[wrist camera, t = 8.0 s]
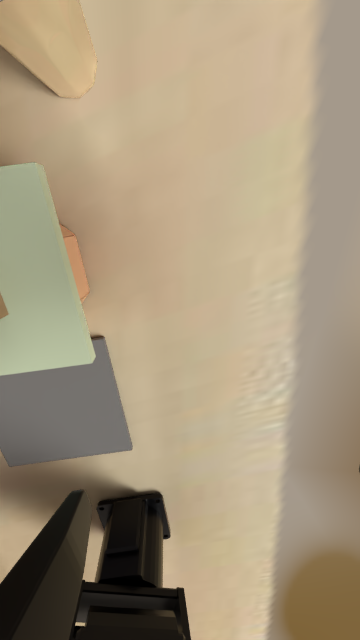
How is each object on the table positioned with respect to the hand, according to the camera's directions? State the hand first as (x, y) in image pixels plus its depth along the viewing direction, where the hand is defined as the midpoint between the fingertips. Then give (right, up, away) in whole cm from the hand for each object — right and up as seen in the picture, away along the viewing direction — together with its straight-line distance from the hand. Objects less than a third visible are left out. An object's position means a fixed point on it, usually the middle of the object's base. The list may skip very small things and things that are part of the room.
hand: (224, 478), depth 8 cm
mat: (-12, -2, +13) cm, 18 cm away
